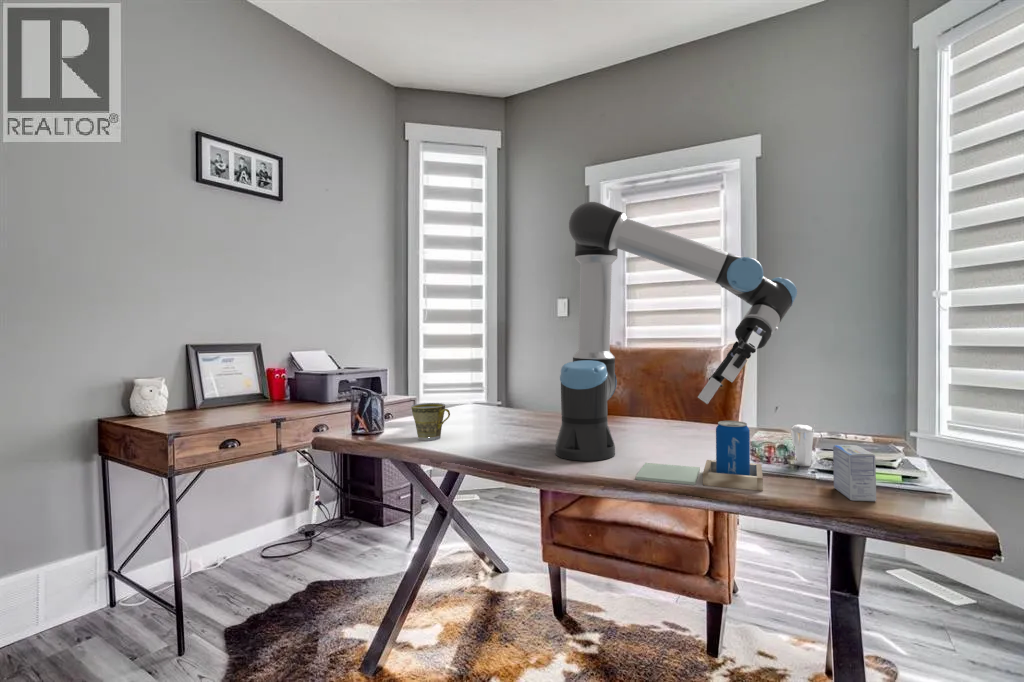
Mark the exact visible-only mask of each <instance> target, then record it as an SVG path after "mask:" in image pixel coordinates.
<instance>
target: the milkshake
mask: <svg viewBox="0 0 1024 682" xmlns="http://www.w3.org/2000/svg"><path fill="white" fill-rule="evenodd" d="M816 424H817V423H816V422H815V423H814V424H813V427H812V426H811V425H808V424H794V425H793V426H792V427H791V428H790V432H791V441H792V445H793V444H794V446H795V448H796V456H797V460H798V461H795V460H794V459H793V463H794V465H795V466H799V467H811V466H812V454H813V443H814V433H815V429H814V428H815V426H816Z"/></svg>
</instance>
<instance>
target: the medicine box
mask: <svg viewBox="0 0 1024 682" xmlns="http://www.w3.org/2000/svg"><path fill="white" fill-rule="evenodd" d="M832 452H833V453H832V457H833V458H832V459H833V488H834V489H836V490H837V491H838V492H840V494H842V495H843V496H845V497H846V498H847V499H849V500H850V501H854V502H873V503H874V502H876V501H877V471H876V469H877V467H876V455H875V453H872V452H871V451H869V450H866V448H863V447H861V446H859V445H856V444H855V445H854V444H837V445H833V450H832Z"/></svg>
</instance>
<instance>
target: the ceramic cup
mask: <svg viewBox="0 0 1024 682" xmlns="http://www.w3.org/2000/svg"><path fill="white" fill-rule="evenodd" d="M445 412H446V413H447V415H448V416H447V417H446V418H445V419H444V416H445ZM411 413H412V417H413V419H414V423H415V428H416V433H417V435H416V436H417V439H418V440H419V441H422V442H423V441H424V442H430V441H431V442H432V441H437V440H440V439H441V437H442V430H443V429H442V427H443V424H445V422H446V421H447V420H449V419H450V417H451V413H450V410H449V409H448V408H446V404H445V403H442V402H441V403H439V402H424V403H416V404H413V405H411ZM428 437H430V438H428Z"/></svg>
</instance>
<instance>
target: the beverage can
mask: <svg viewBox="0 0 1024 682" xmlns="http://www.w3.org/2000/svg"><path fill="white" fill-rule="evenodd" d="M717 424H718V425H716V427H715V453H716V454H715V457H716V458H715V461H716V473H725V474H736V475H748V476H750V463H751V457H750V456H751V447H750V446H751V445H750V443H751V442H750V441H751V440H750V439H751V438H750V435H751V434H750V428H749V427H748V423H747V422H746V421H745V422H744V421H739V420H720V421H718V422H717Z"/></svg>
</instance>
